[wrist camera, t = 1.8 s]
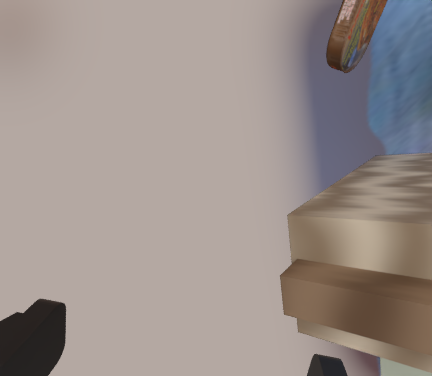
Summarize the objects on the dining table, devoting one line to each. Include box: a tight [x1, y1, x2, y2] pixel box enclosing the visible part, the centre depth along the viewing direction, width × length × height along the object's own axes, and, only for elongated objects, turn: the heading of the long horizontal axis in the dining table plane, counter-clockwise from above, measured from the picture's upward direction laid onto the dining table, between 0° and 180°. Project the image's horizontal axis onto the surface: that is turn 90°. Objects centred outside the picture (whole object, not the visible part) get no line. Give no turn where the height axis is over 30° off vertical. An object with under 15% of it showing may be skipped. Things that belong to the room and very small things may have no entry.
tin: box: [326, 0, 387, 73], centre depth 42 cm, size 15×3×8 cm, turn 162°
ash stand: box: [287, 153, 432, 373], centre depth 32 cm, size 16×10×32 cm, turn 100°
